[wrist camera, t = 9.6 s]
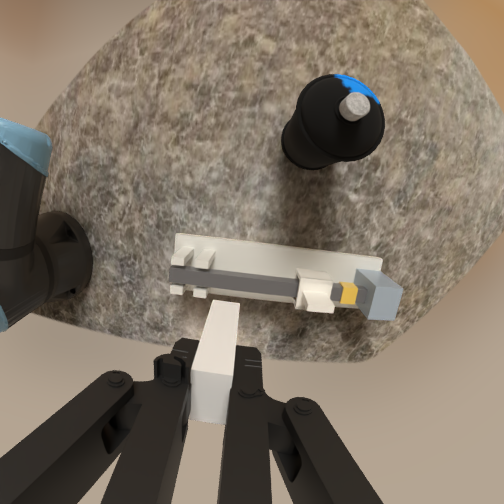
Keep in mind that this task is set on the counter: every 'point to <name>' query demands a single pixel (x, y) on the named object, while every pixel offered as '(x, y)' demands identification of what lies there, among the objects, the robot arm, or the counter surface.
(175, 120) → the counter surface
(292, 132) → the aerosol can
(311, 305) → the sleeve
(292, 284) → the grey rod on board
